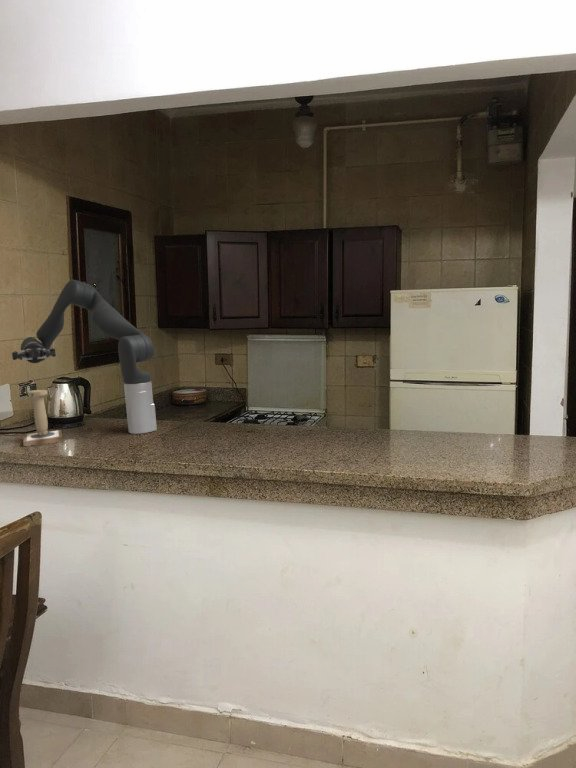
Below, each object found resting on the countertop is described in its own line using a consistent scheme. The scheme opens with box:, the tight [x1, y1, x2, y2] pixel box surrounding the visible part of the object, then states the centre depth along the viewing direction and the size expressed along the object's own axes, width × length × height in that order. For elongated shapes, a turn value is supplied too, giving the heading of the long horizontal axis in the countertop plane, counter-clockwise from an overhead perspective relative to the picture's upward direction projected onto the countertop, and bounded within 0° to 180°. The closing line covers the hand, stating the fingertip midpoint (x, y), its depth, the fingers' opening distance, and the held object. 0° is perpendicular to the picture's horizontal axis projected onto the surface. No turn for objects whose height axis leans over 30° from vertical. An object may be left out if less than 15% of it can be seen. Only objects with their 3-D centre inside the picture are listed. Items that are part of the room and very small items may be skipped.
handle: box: [27, 389, 49, 436], centre depth 200 cm, size 5×6×15 cm
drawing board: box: [22, 429, 64, 447], centre depth 201 cm, size 12×12×2 cm
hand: (34, 355), depth 207 cm, fingers open, 8 cm apart
